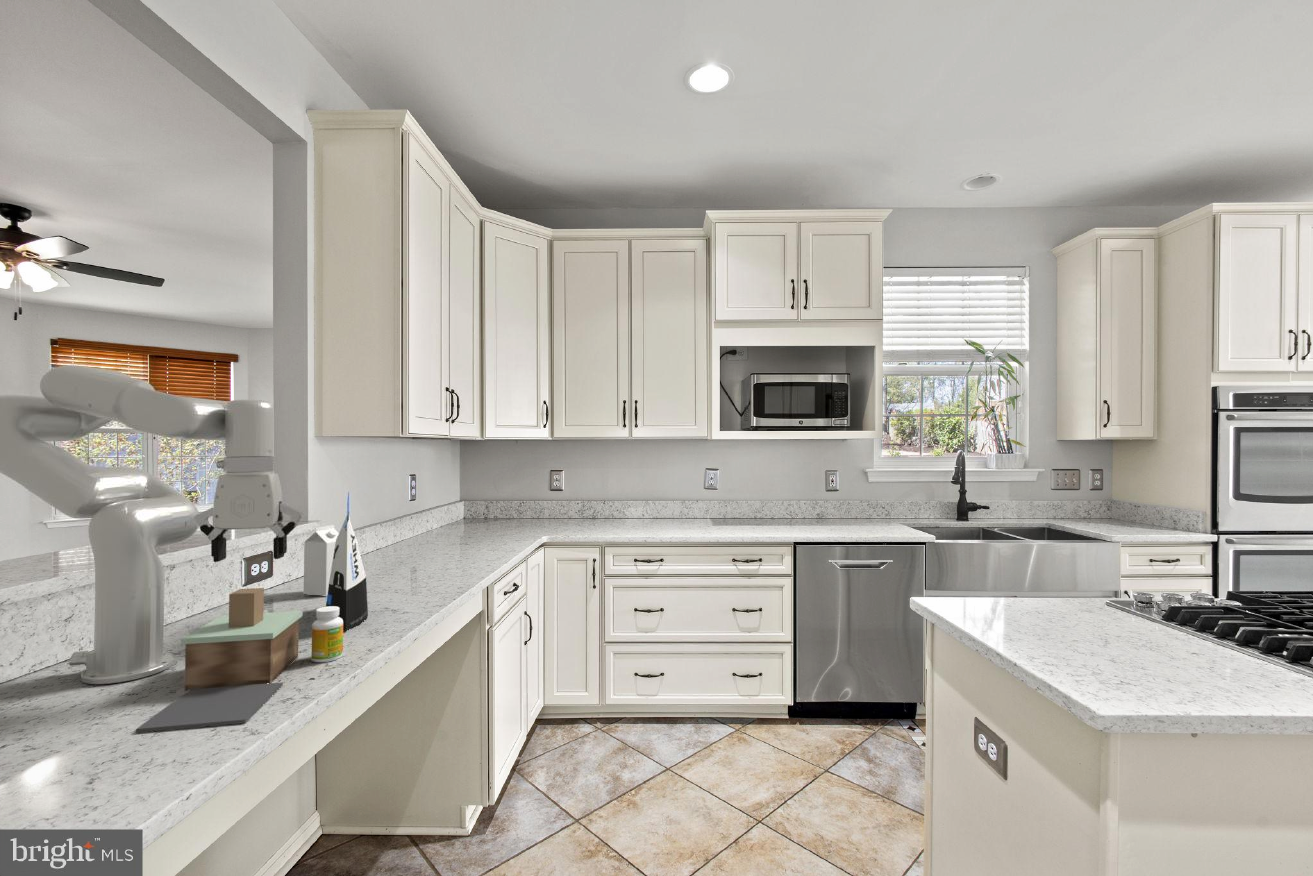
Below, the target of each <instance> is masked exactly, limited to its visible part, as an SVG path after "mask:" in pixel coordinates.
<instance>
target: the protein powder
mask: <svg viewBox="0 0 1313 876" xmlns="http://www.w3.org/2000/svg"><path fill="white" fill-rule="evenodd" d="M346 506H347V511H346V513H347V514H346V516H345V520H344V521H343V523H342V526H341V529H340V530H339V532H338V533H339V534H338V537H337V539H336V543H335V549H334V556H333V562H332V568H331V574H330V580H329V587H328V594H327V596H326V602H325V607H328V606H337V607H339V615H338V617H340V618H342V620H343V632H346V633H347V630H348V631H350V630H352V629H354V627H355V628H357V627H359V626H360V625H362V624H363V623H364V622H365V621H364V620H366V621H367V619H368V616H369V610H368V609H369V607H368V590H367V589H368V588H367V576H366V571H365V568H364V564H363V561H362V560H363V559H362V556H361V552H360V548H359V543H358V541H359V540H358V539H357V536H356V533H355V531H354V528H353V525H352V523H351V517H350V516H351V515H350V509H349V508H350V492H348V493H347V505H346ZM362 622H363V623H362ZM361 623H362V624H361ZM356 626H357V627H356ZM349 629H350V630H349Z"/></svg>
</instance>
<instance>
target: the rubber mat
mask: <svg viewBox="0 0 1313 876" xmlns="http://www.w3.org/2000/svg"><path fill="white" fill-rule="evenodd" d="M283 683H284V682H273V683H272V682H271V683H269V684H256V685H243V686H230V687H217V688H204V689H190V690H186V692H185V693H183V694H182V695H181V696H179V697H178V698H176V699H175V700H173V701H172V702H170V704H168V705H167V706H165V707H164V708H163V709H162V710H160V711H158V712H157V713H156V714H155V715H153V716H152V717H150V718H149V719H148V720H147V721H145V722H144V723H142V724H141V725H140V726H138V727H137V728H135V733H136V734H142V732H144V733H152V732H151V731H155V732H164V730H166V731H172V730H171V729H177V730H185V729H184V728H188V729H199V728H207V727H206V726H211V727H220V725H222V726H230V725H229V724H233V725H242V723H244V724H247V722H249V720H251V718H252V717H254V715H256V713H257V712H258V711H259V710H260V709H262V707H263V706H264V705H265V704H266V703H267V702H268V701H269V700H270V699H271V698H273V696H274V695H275V694H276V693H278V691H280V689H281V688H282V687H283V686H284V684H283ZM281 686H282V687H281ZM279 688H280V689H279ZM277 690H278V691H277ZM272 695H273V696H272ZM270 697H271V698H270ZM268 699H269V700H268ZM266 701H267V702H266ZM263 704H264V705H263ZM240 723H241V724H240ZM227 724H228V725H227ZM162 730H163V731H162ZM149 731H150V732H149Z"/></svg>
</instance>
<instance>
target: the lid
mask: <svg viewBox="0 0 1313 876" xmlns="http://www.w3.org/2000/svg"><path fill="white" fill-rule="evenodd" d="M264 589H265V588H264V587H258V588H257V587H255V588H238V589H237V590H235V591H233V592H231V593H229V594H228V595H229V596H228V597H229V598H228V614H222V615H220V616H218V617H216V618H215V619H213V620H211V621H209V622H208V623H206V624H203V625H202V626H200V627H199V628H197V629H195V630H193V631H192V632H189V633H188V634H186V635H184V636H182V637H181V638H180V645H186V644H196V643H212V642H229V641H245V640H262V639H273V638H275V637H276V636H277V635H279V634H280V633H281V632H282V631H284V630H285V629H286V628H288V627H289V626H290V625H291V624H293V623H294V622H295V621H297V620H298V619H299V620H300V618H302V617H303V610H294V611H293V610H292V611H279V612H275V611H274V612H264V607H265V606H264V599H265V597H264V595H265V591H264Z"/></svg>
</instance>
